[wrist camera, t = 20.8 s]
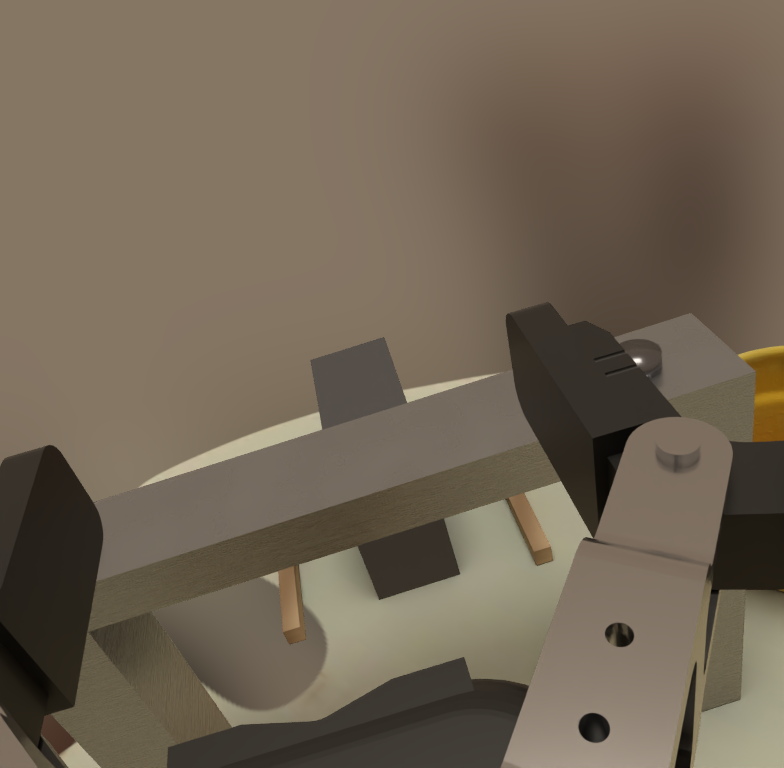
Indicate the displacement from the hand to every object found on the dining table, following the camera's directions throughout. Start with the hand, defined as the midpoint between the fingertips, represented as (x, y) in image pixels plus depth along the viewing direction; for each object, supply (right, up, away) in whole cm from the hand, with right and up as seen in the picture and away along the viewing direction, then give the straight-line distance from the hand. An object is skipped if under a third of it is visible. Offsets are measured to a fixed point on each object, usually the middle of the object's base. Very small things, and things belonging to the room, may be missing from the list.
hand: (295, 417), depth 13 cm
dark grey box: (+2, -8, +36) cm, 37 cm away
